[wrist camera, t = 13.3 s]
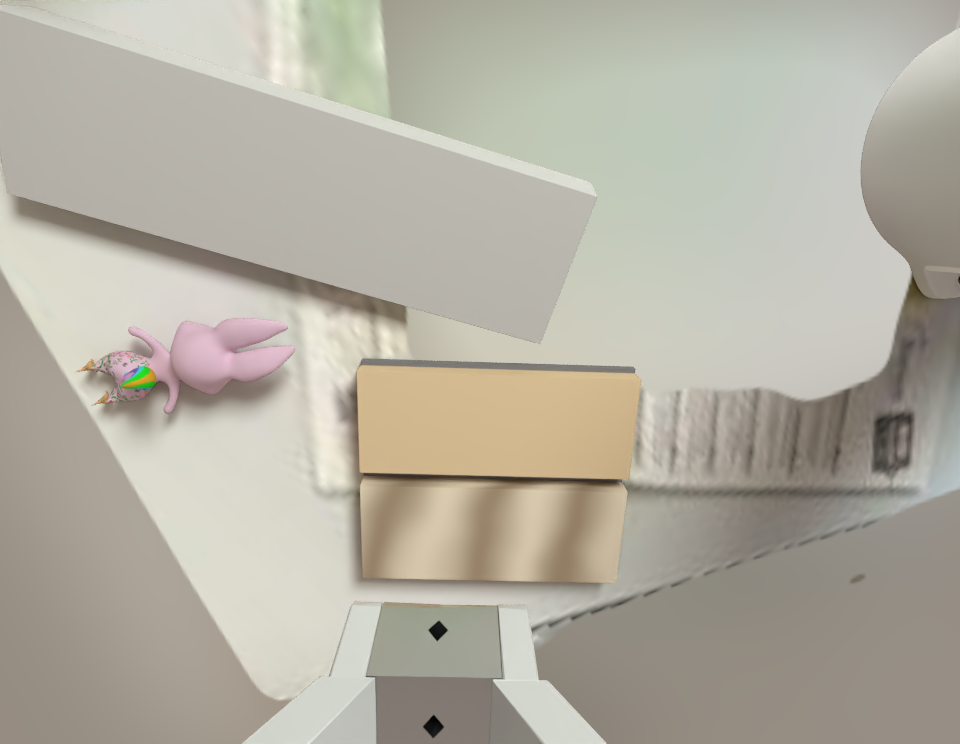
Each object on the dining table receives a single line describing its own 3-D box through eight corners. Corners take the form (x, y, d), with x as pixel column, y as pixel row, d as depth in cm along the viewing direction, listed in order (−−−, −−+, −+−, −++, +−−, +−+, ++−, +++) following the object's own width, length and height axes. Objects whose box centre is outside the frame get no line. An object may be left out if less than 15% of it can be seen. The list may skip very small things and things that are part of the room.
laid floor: (632, 366, 39) (641, 375, 37) (608, 573, 43) (615, 590, 41) (362, 358, 38) (356, 366, 36) (367, 567, 43) (362, 585, 41)
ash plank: (622, 482, 40) (627, 492, 39) (611, 570, 42) (616, 583, 41) (363, 475, 40) (359, 485, 38) (366, 565, 42) (362, 577, 41)
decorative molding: (538, 313, 40) (588, 179, 35) (540, 344, 36) (597, 196, 31) (63, 176, 37) (43, 7, 32) (7, 193, 33) (-26, 2, 28)
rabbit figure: (137, 412, 41) (318, 374, 37) (69, 448, 35) (275, 406, 32) (100, 332, 39) (286, 285, 36) (22, 357, 33) (235, 303, 30)
